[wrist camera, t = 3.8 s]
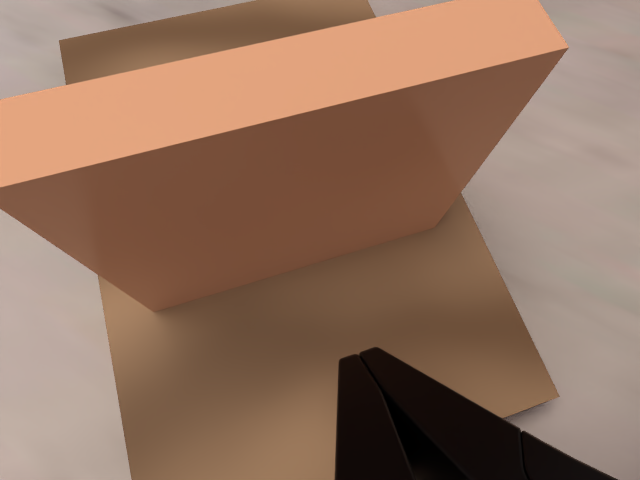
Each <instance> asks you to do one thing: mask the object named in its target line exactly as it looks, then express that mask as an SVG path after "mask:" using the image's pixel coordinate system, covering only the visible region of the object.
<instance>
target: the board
mask: <svg viewBox="0 0 640 480" xmlns="http://www.w3.org/2000/svg"><path fill="white" fill-rule="evenodd" d="M372 18H376V17H375V15H374V13H373V11H372V9H371V7H370V5H369V3H368V0H256V1H251V2H246V3H241V4H236V5H231V6H226V7H222V8H217V9H212V10H207V11H202V12H197V13H192V14H187V15H182V16H177V17H172V18H167V19H162V20H157V21H153V22H148V23H143V24H138V25H133V26H128V27H123V28H118V29H113V30H108V31H103V32H98V33H93V34H88V35H83V36H79V37H74V38H69V39H64V40H59V44H60V50H61V56H62V62H63V68H64V74H65V80H66V85H69V84H74V83H78V82H83V81H88V80H92V79H97V78H101V77H106V76H111V75H115V74H120V73H124V72H129V71H133V70H138V69H143V68H147V67H152V66H156V65H161V64H166V63H170V62H175V61H179V60H184V59H189V58H193V57H198V56H202V55H207V54H211V53H216V52H221V51H225V50H230V49H234V48H239V47H244V46H248V45H253V44H257V43H262V42H267V41H271V40H276V39H280V38H285V37H289V36H294V35H299V34H303V33H308V32H312V31H317V30H322V29H326V28H331V27H335V26H340V25H344V24H349V23H354V22H358V21H363V20H367V19H372ZM98 279H99V285H100V291H101V297H102V303H103V309H104V315H105V322H106V328H107V334H108V340H109V346H110V352H111V358H112V364H113V370H114V376H115V382H116V388H117V394H118V400H119V406H120V412H121V418H122V424H123V430H124V436H125V442H126V448H127V454H128V460H129V466H130V472H131V478H132V480H334V478H335V449H336V420H337V391H338V363H339V360H340V359H341V358H343V357H346V356H349V355H352V354H358V355H359V353H360V352H361V351H364V350H367V349H370V348H373V347H379V348H381V349H383V350H384V351H386V352H388V353H390V354H391V355H393V356H395V357H396V358H398V359H400V360H402V361H403V362H405V363H407V364H409V365H410V366H412V367H414V368H416V369H417V370H419V371H421V372H423V373H424V374H426V375H428V376H430V377H431V378H433V379H435V380H437V381H438V382H440V383H442V384H444V385H445V386H447V387H449V388H450V389H452V390H454V391H456V392H457V393H459V394H461V395H463V396H464V397H466V398H468V399H470V400H471V401H473V402H475V403H477V404H478V405H480V406H482V407H484V408H485V409H487V410H489V411H491V412H492V413H494V414H496V415H498V416H499V417H501V418H505V417H507V416H510V415H513V414H515V413H518V412H521V411H523V410H526V409H528V408H531V407H534V406H536V405H539V404H541V403H544V402H547V401H549V400H552V399H555V398H557V397H560V396H559V394H558V392H557V390H556V388H555V386H554V384H553V382H552V380H551V378H550V376H549V374H548V371H547V369H546V367H545V365H544V363H543V361H542V359H541V357H540V355H539V353H538V351H537V349H536V347H535V345H534V343H533V341H532V338H531V336H530V334H529V332H528V330H527V328H526V326H525V324H524V322H523V320H522V318H521V316H520V314H519V312H518V310H517V308H516V306H515V303H514V301H513V299H512V297H511V295H510V293H509V291H508V289H507V287H506V285H505V283H504V281H503V279H502V277H501V275H500V273H499V270H498V268H497V266H496V264H495V262H494V260H493V258H492V256H491V254H490V252H489V250H488V248H487V246H486V244H485V242H484V240H483V237H482V235H481V233H480V231H479V229H478V227H477V225H476V223H475V221H474V219H473V217H472V215H471V213H470V211H469V209H468V207H467V205H466V202H465V200H464V198H463V196H462V194H461V193H460V194H459V196H458V197H457V198H456V200H455V201H454V202H453V204H452V205H451V206H450V208H449V209H448V210H447V212H446V213H445V214H444V216H443V217H442V218H441V220H440V221H439V222H438V224H437V225H436V226H435V228H432V229H428V230H425V231H422V232H418V233H415V234H412V235H408V236H405V237H402V238H398V239H395V240H392V241H389V242H385V243H382V244H379V245H375V246H372V247H369V248H365V249H362V250H359V251H355V252H352V253H349V254H345V255H342V256H339V257H335V258H332V259H329V260H325V261H322V262H319V263H315V264H312V265H309V266H306V267H302V268H299V269H296V270H292V271H289V272H286V273H282V274H279V275H276V276H272V277H269V278H266V279H262V280H259V281H256V282H252V283H249V284H246V285H242V286H239V287H236V288H233V289H229V290H226V291H223V292H219V293H216V294H213V295H209V296H206V297H203V298H199V299H196V300H193V301H189V302H186V303H183V304H179V305H176V306H173V307H169V308H166V309H163V310H159V311H156V312H153V311H151V310H150V309H148V308H147V307H145V306H144V305H142V304H141V303H139V302H138V301H136V300H135V299H133V298H132V297H130V296H129V295H127V294H126V293H124V292H123V291H121V290H120V289H118V288H117V287H116V286H114V285H113V284H111V283H110V282H108V281H107V280H105V279H104V278H102V277H101V276H99V275H98Z"/></svg>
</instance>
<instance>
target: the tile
mask: <svg viewBox="0 0 640 480" xmlns="http://www.w3.org/2000/svg"><path fill="white" fill-rule="evenodd" d="M568 48H569V47H568V45H567V44H566V42H565V40H564V39H563V37H562V36H561V34H560V33H559V31H558V30H557V28H556V27H555V25H554V24H553V22H552V21H551V19H550V18H549V16H548V15H547V13H546V12H545V10H544V9H543V7H542V6H541V4H540V3H539V1H538V0H455V1H450V2H445V3H441V4H436V5H432V6H427V7H422V8H418V9H413V10H409V11H404V12H400V13H395V14H390V15H386V16H381V17H377V18H372V19H367V20H363V21H358V22H354V23H349V24H344V25H340V26H335V27H331V28H326V29H322V30H317V31H312V32H308V33H303V34H299V35H294V36H289V37H285V38H280V39H276V40H271V41H267V42H262V43H257V44H253V45H248V46H244V47H239V48H234V49H230V50H225V51H221V52H216V53H211V54H207V55H202V56H198V57H193V58H189V59H184V60H179V61H175V62H170V63H166V64H161V65H156V66H152V67H147V68H143V69H138V70H133V71H129V72H124V73H120V74H115V75H111V76H106V77H101V78H97V79H92V80H88V81H83V82H78V83H74V84H69V85H65V86H60V87H55V88H51V89H46V90H42V91H37V92H33V93H28V94H23V95H19V96H14V97H10V98H5V99H0V209H2V210H3V211H5V212H6V213H8V214H9V215H11V216H12V217H13V218H15V219H16V220H18V221H19V222H21V223H22V224H24V225H25V226H27V227H28V228H30V229H31V230H33V231H34V232H36V233H37V234H39V235H40V236H42V237H43V238H45V239H46V240H47V241H49V242H50V243H52V244H53V245H55V246H56V247H58V248H59V249H61V250H62V251H64V252H65V253H67V254H68V255H70V256H71V257H73V258H74V259H76V260H77V261H79V262H80V263H82V264H83V265H84V266H86V267H87V268H89V269H90V270H92V271H93V272H95V273H96V274H98V275H99V276H101V277H102V278H104V279H105V280H107V281H108V282H110V283H111V284H113V285H114V286H116V287H117V288H118V289H120V290H121V291H123V292H124V293H126V294H127V295H129V296H130V297H132V298H133V299H135V300H136V301H138V302H139V303H141V304H142V305H144V306H145V307H147V308H148V309H150V310H151V311H153V312H156V311H159V310H163V309H166V308H169V307H173V306H176V305H179V304H183V303H186V302H189V301H193V300H196V299H199V298H203V297H206V296H209V295H213V294H216V293H219V292H223V291H226V290H229V289H233V288H236V287H239V286H242V285H246V284H249V283H252V282H256V281H259V280H262V279H266V278H269V277H272V276H276V275H279V274H282V273H286V272H289V271H292V270H296V269H299V268H302V267H306V266H309V265H312V264H315V263H319V262H322V261H325V260H329V259H332V258H335V257H339V256H342V255H345V254H349V253H352V252H355V251H359V250H362V249H365V248H369V247H372V246H375V245H379V244H382V243H385V242H389V241H392V240H395V239H398V238H402V237H405V236H408V235H412V234H415V233H418V232H422V231H425V230H428V229H432V228H435V226H436V225H437V224H438V222H439V221H440V220H441V218H442V217H443V216H444V214H445V213H446V212H447V210H448V209H449V208H450V206H451V205H452V204H453V202H454V201H455V200H456V198H457V197H458V196H459V194H460V193H461V192H462V190H463V189H464V188H465V186H466V185H467V183H468V182H469V181H470V179H471V178H472V177H473V175H474V174H475V173H476V171H477V170H478V169H479V167H480V166H481V165H482V163H483V162H484V161H485V159H486V158H487V157H488V155H489V154H490V153H491V151H492V150H493V149H494V147H495V146H496V145H497V143H498V142H499V141H500V139H501V138H502V137H503V135H504V134H505V133H506V131H507V130H508V129H509V127H510V126H511V124H512V123H513V122H514V120H515V119H516V118H517V116H518V115H519V114H520V112H521V111H522V110H523V108H524V107H525V106H526V104H527V103H528V102H529V100H530V99H531V98H532V96H533V95H534V94H535V92H536V91H537V90H538V88H539V87H540V86H541V84H542V83H543V82H544V80H545V79H546V78H547V76H548V75H549V74H550V72H551V71H552V69H553V68H554V67H555V65H556V64H557V63H558V61H559V60H560V59H561V57H562V56H563V55H564V53H565V52H566V51H567V49H568Z"/></svg>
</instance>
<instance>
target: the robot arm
mask: <svg viewBox="0 0 640 480" xmlns="http://www.w3.org/2000/svg"><path fill="white" fill-rule="evenodd" d="M334 480H618V479H616V478H613V477H611V476H609V475H607V474H605V473H603V472H601V471H599V470H597V469H595V468H593V467H591V466H589V465H587V464H585V463H583V462H581V461H578V460H576V459H574V458H573V457H571V456H569V455H567V454H565V453H563V452H562V451H560V450H558V449H556V448H554V447H552V446H550V445H549V444H547V443H545V442H543V441H541V440H540V439H538V438H536V437H534V436H533V435H531V434H529V433H527V432H526V431H522V432H521V430H520V428H518V427H517V426H515V425H513V424H511V423H510V422H508V421H506V420H504V419H503V418H501V417H499V416H498V415H496V414H494V413H492V412H491V411H489V410H487V409H485V408H484V407H482V406H480V405H478V404H477V403H475V402H473V401H471V400H470V399H468V398H466V397H464V396H463V395H461V394H459V393H457V392H456V391H454V390H452V389H450V388H449V387H447V386H445V385H444V384H442V383H440V382H438V381H437V380H435V379H433V378H431V377H430V376H428V375H426V374H424V373H423V372H421V371H419V370H417V369H416V368H414V367H412V366H410V365H409V364H407V363H405V362H403V361H402V360H400V359H398V358H396V357H395V356H393V355H391V354H390V353H388V352H386V351H384V350H383V349H381V348H379V347H373V348H370V349H367V350H364V351H361V352H360V353H359V355H358V354H352V355H349V356H346V357H343V358H341V359H340V360H339V363H338V391H337V420H336V449H335V478H334Z"/></svg>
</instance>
